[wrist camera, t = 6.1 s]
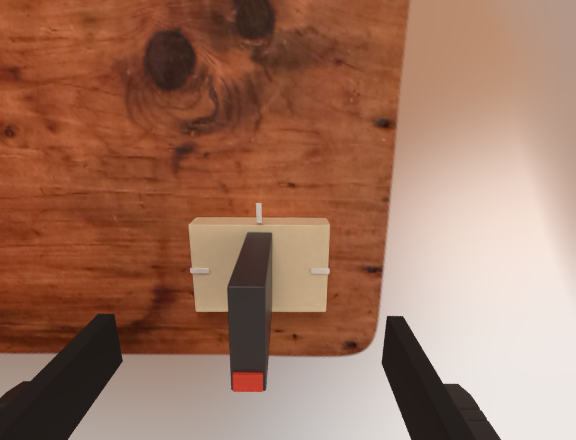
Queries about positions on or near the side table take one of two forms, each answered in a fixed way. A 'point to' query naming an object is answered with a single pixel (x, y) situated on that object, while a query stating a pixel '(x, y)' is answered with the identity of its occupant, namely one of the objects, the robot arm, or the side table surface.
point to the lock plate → (285, 260)
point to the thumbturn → (250, 313)
